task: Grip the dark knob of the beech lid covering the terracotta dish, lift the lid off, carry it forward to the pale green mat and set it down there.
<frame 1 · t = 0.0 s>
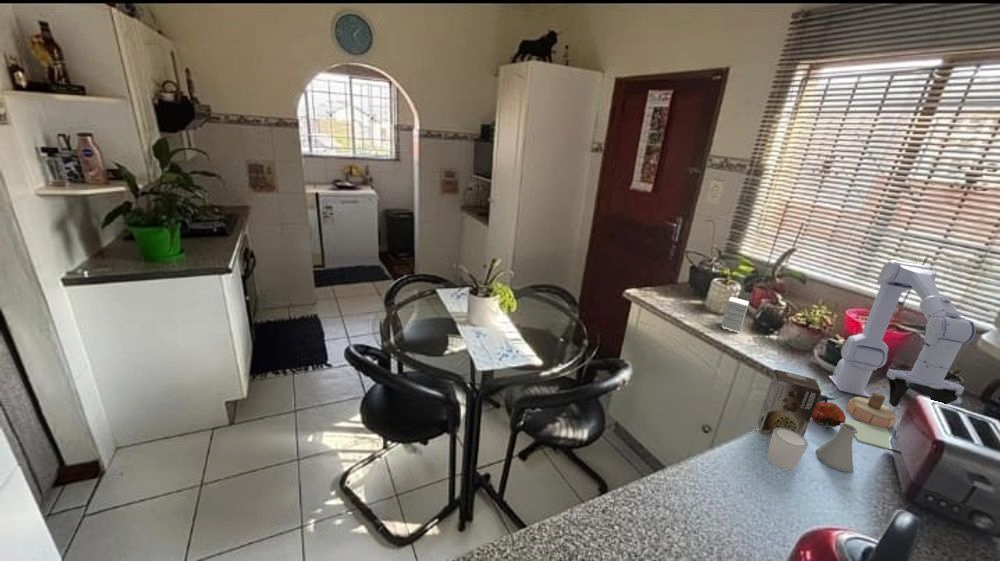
hand: (910, 408, 106), 10 cm above the worktop, tool pointing down, fingers open, 7 cm apart
lid: (872, 408, 118), point 3 cm above the worktop, touching dish
mat: (871, 435, 111), on the worktop
white cylinder: (780, 461, 97), on the worktop
dish: (868, 417, 119), on the worktop
flask: (833, 462, 99), on the worktop
pomegranate: (822, 426, 113), on the worktop
coffee box: (777, 433, 107), on the worktop
supplement box: (730, 328, 174), on the worktop
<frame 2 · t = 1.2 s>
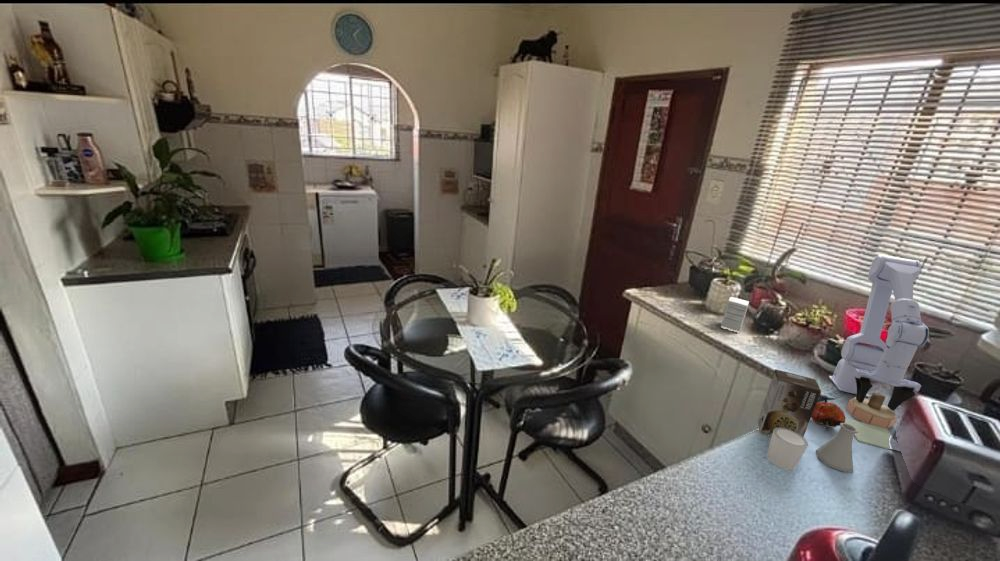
hand: (874, 404, 118), 4 cm above the worktop, tool pointing down, fingers open, 7 cm apart
nothing on the worktop moved.
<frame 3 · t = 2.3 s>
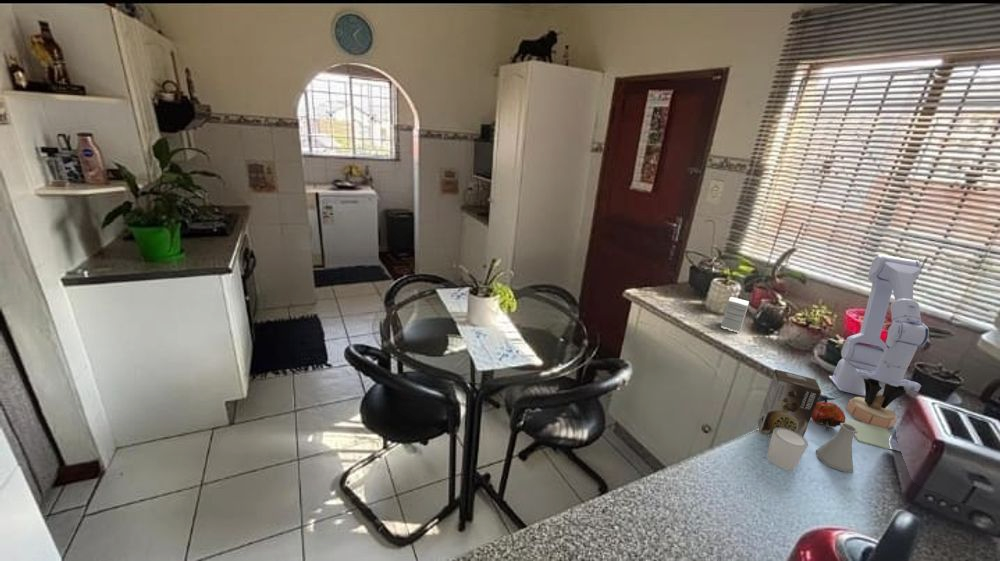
hand: (874, 404, 118), 4 cm above the worktop, tool pointing down, fingers closed on lid, 3 cm apart
lid: (872, 408, 118), point 3 cm above the worktop, touching dish, gripper
everything else where it was.
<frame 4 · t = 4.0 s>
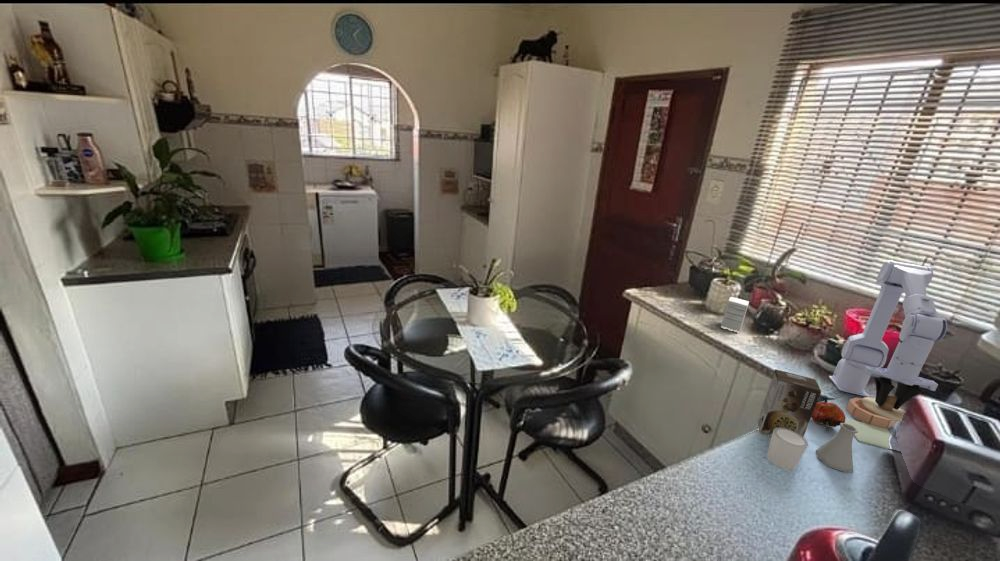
hand: (886, 405, 108), 9 cm above the worktop, tool pointing down, fingers closed on lid, 3 cm apart
lid: (884, 409, 108), point 8 cm above the worktop, touching gripper
everything else where it was.
when the fingers open (3 cm above the worktop, at t = 5.9 s): lid stays where it is, resting on mat.
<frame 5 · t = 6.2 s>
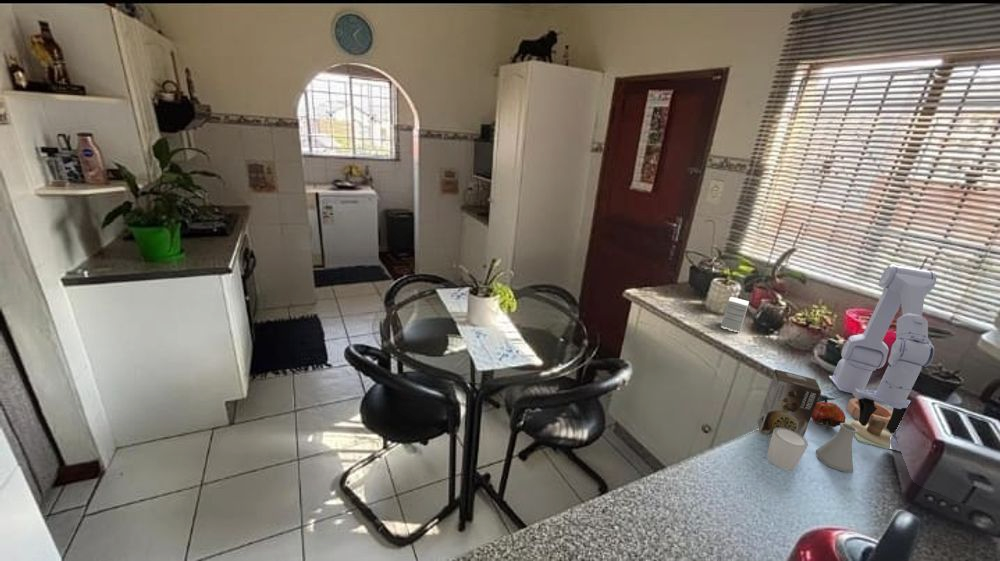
hand: (875, 427, 110), 3 cm above the worktop, tool pointing down, fingers open, 6 cm apart
lid: (872, 433, 111), resting on mat
everything else where it was.
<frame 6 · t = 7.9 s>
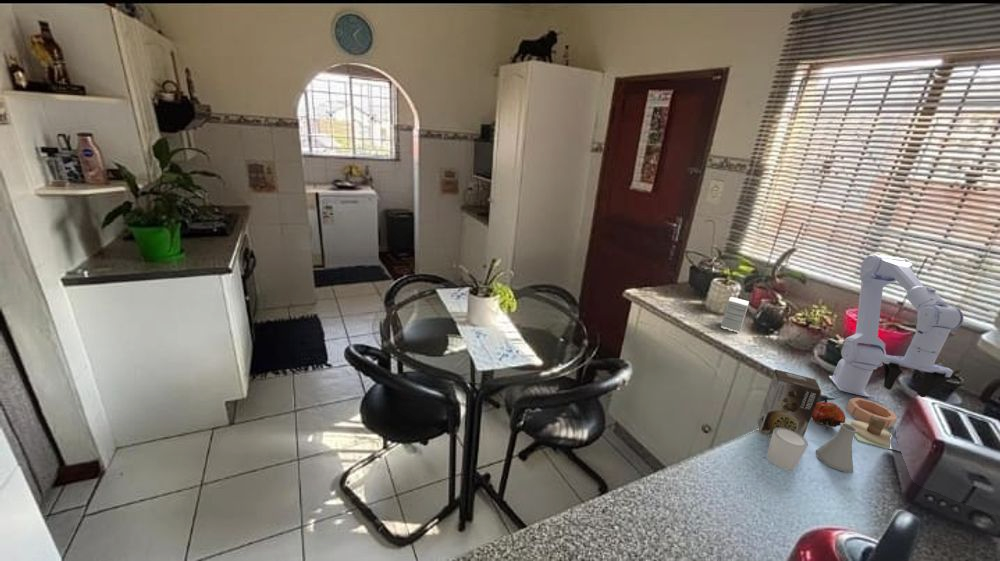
hand: (903, 391, 114), 10 cm above the worktop, tool pointing down, fingers open, 7 cm apart
nothing on the worktop moved.
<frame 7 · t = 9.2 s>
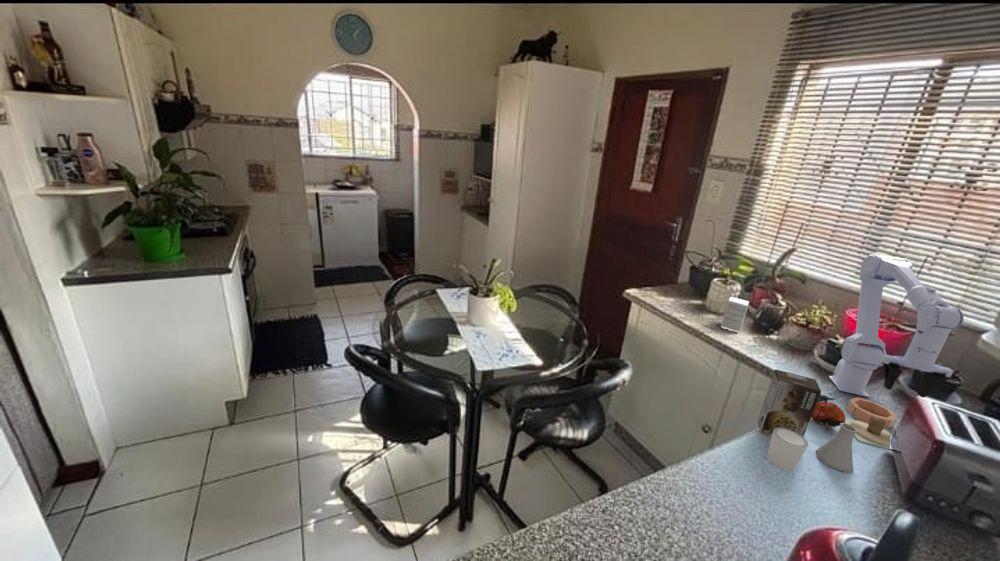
hand: (903, 391, 114), 10 cm above the worktop, tool pointing down, fingers open, 7 cm apart
nothing on the worktop moved.
at the end: lid inside the target area on the mat (0.1 cm from its centre), point 0.4 cm above the mat's base; lid touching mat; the gripper is holding nothing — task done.
